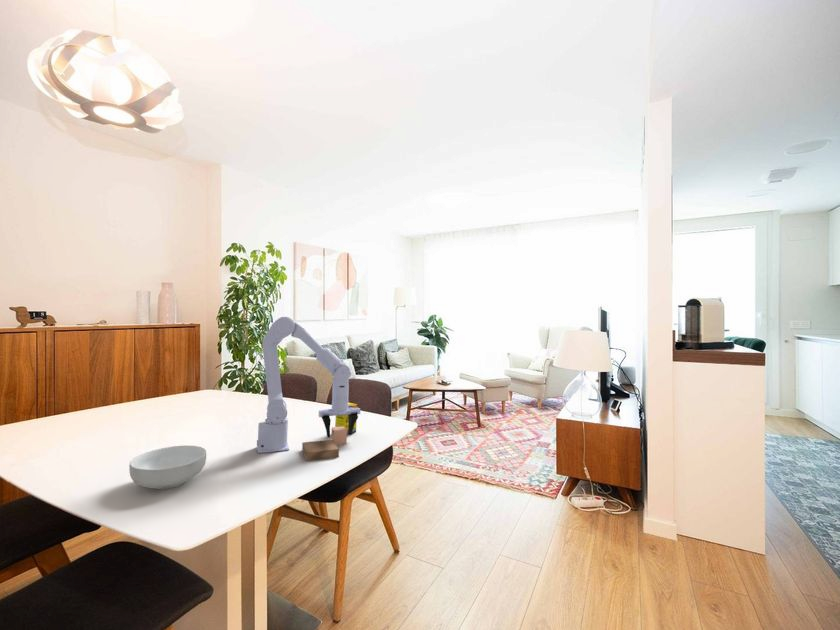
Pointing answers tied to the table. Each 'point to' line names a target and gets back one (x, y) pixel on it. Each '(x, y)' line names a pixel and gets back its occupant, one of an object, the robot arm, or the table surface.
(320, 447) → the walnut base
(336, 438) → the terracotta block
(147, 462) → the cereal bowl
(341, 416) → the supplement box
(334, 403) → the robot arm
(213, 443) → the table surface
